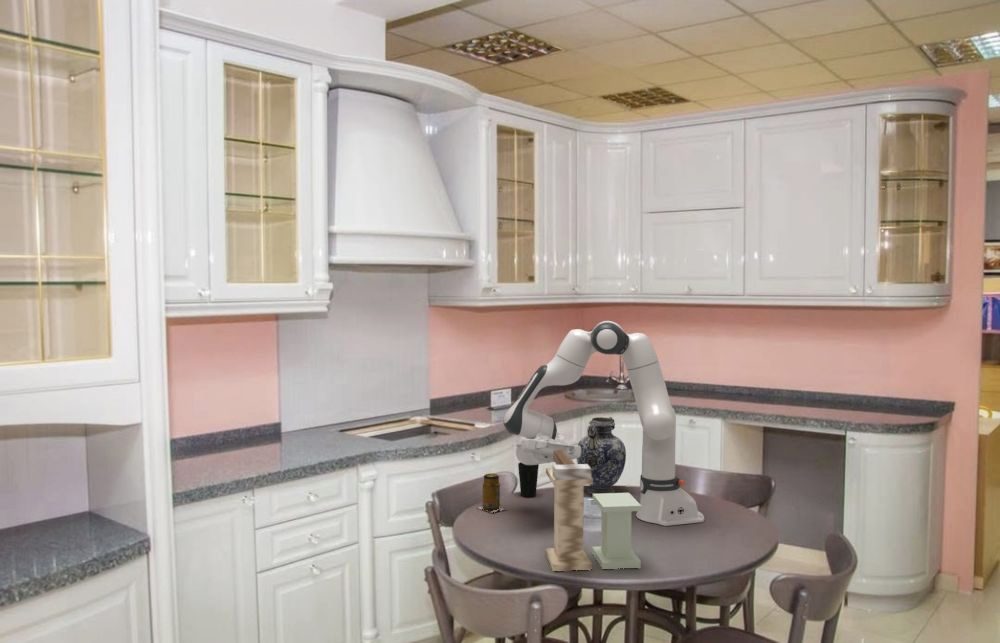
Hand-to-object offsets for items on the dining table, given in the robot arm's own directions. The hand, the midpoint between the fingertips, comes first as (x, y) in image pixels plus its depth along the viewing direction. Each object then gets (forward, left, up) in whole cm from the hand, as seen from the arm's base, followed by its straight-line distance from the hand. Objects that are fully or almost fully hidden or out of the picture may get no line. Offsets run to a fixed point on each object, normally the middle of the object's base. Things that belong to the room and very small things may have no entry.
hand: (560, 446), depth 249 cm
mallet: (+2, +20, -2) cm, 20 cm away
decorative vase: (-24, -44, -28) cm, 58 cm away
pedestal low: (-12, +25, -28) cm, 39 cm away
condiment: (+19, -27, -28) cm, 44 cm away
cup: (+4, -42, -28) cm, 51 cm away
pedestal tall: (+2, +25, -28) cm, 38 cm away
